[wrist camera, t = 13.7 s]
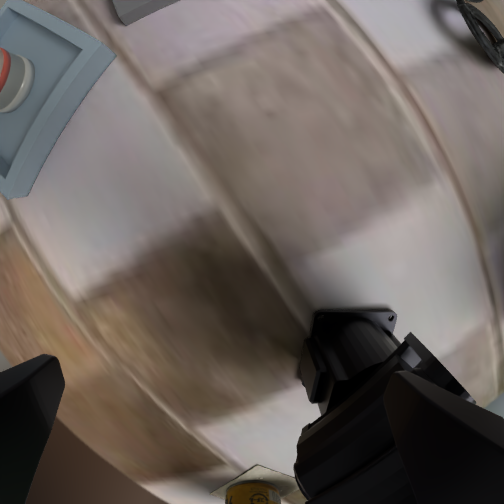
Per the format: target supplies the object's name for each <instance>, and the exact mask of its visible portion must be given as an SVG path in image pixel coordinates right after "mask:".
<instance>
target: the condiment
mask: <svg viewBox="0 0 504 504" xmlns="http://www.w3.org/2000/svg"><path fill="white" fill-rule="evenodd" d="M260 478H262V479H260ZM298 489H299V487H298V485H297V482H296V480H295V478H293V477H290V476H287V475H284V474H282V473H280V472H275V471H272V470H270V469H268V468H264V467H261V466H259V465H257V466H255V467H254V468H253V469H251V470H249V471H248V472H247V473H245V474H243V475H241V476H240V477H239V478H236V479H235V480H233V481H231V482H229V483H227V484H226V485H224V486H222V487H220V488H219V489H217V490H215V491H213V492H212V493H211V494H210V495H213V496H216V497H220V498H222V499H225V504H281V500H280V499H282V498H284V497H287V496H288V495H290V494H291V493H293V492H295V491H297V490H298ZM281 490H282V491H281Z"/></svg>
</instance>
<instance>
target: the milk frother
mask: <svg viewBox="0 0 504 504" xmlns="http://www.w3.org/2000/svg"><path fill="white" fill-rule="evenodd" d="M456 1H457V4H458V7H459V10H460V12H461V14H462V16H463V18H464V20H465V22H466V24H467V26H468V27H469V29H470V31H471V32H472V34H473V35H474V37H475V38H476V40H477V41H478V43H479V44H480V45H481V47H482V48H483V49H484V51H485V52H486V53H487V55H488V56H489V58H490V59H491V60H492V61H493V63H494V64H495V65H496V66H497V67H498V68H499V69H500V70H501V71H502V72H503V73H504V38H503V37H502V35H501V34H500V32H499V31H498V30H497V28H496V27H495V26H494V24H493V23H492V22H491V21H490V20H489V19H488V18H487V17H486V16H485V15H484V14H483V13H482V12H481V11H480V10H478V9H477V8H475V7H474V6H472V5H471V4H469V3H465V2H464V0H456ZM467 1H471V2H476V3H477V2H481V1H483V0H467ZM475 17H476V18H477V19H478V20H480V21H481V22H482V23H483V24H484V25H485V26H486V27H487V28H488V30H489V31H490V32H491V33H492V34H493V36H494V37H495V38H496V40H497V42H496V43H494V44H491V43H490V41H489V40H488V39H487V37H486V36H485V35H484V33H483V32H482V31H481V29H480V28H479V25H478V23H477V21H476V19H475Z"/></svg>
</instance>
